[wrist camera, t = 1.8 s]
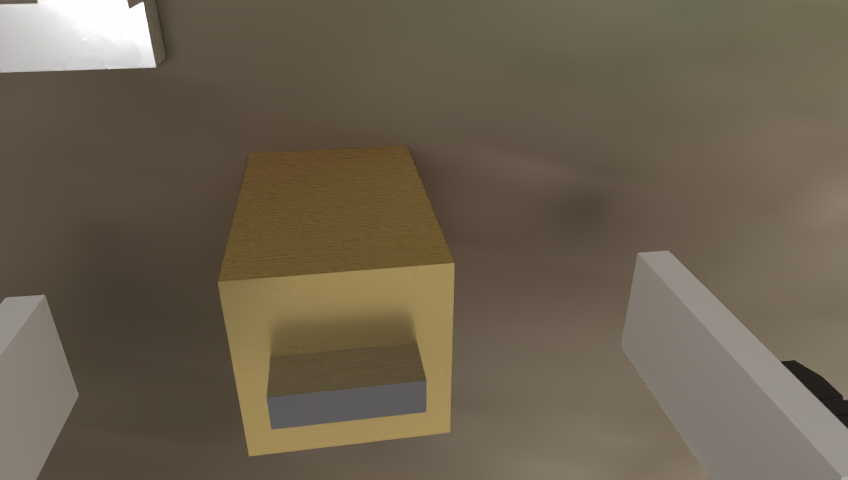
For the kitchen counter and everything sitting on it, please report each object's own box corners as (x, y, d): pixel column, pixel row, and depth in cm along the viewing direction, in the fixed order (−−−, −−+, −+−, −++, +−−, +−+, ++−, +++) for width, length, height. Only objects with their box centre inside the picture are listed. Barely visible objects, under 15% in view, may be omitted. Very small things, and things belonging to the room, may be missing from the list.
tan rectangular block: (267, 287, 20) (244, 501, 13) (249, 153, 18) (208, 318, 11) (408, 276, 20) (461, 473, 13) (406, 145, 18) (468, 296, 11)
